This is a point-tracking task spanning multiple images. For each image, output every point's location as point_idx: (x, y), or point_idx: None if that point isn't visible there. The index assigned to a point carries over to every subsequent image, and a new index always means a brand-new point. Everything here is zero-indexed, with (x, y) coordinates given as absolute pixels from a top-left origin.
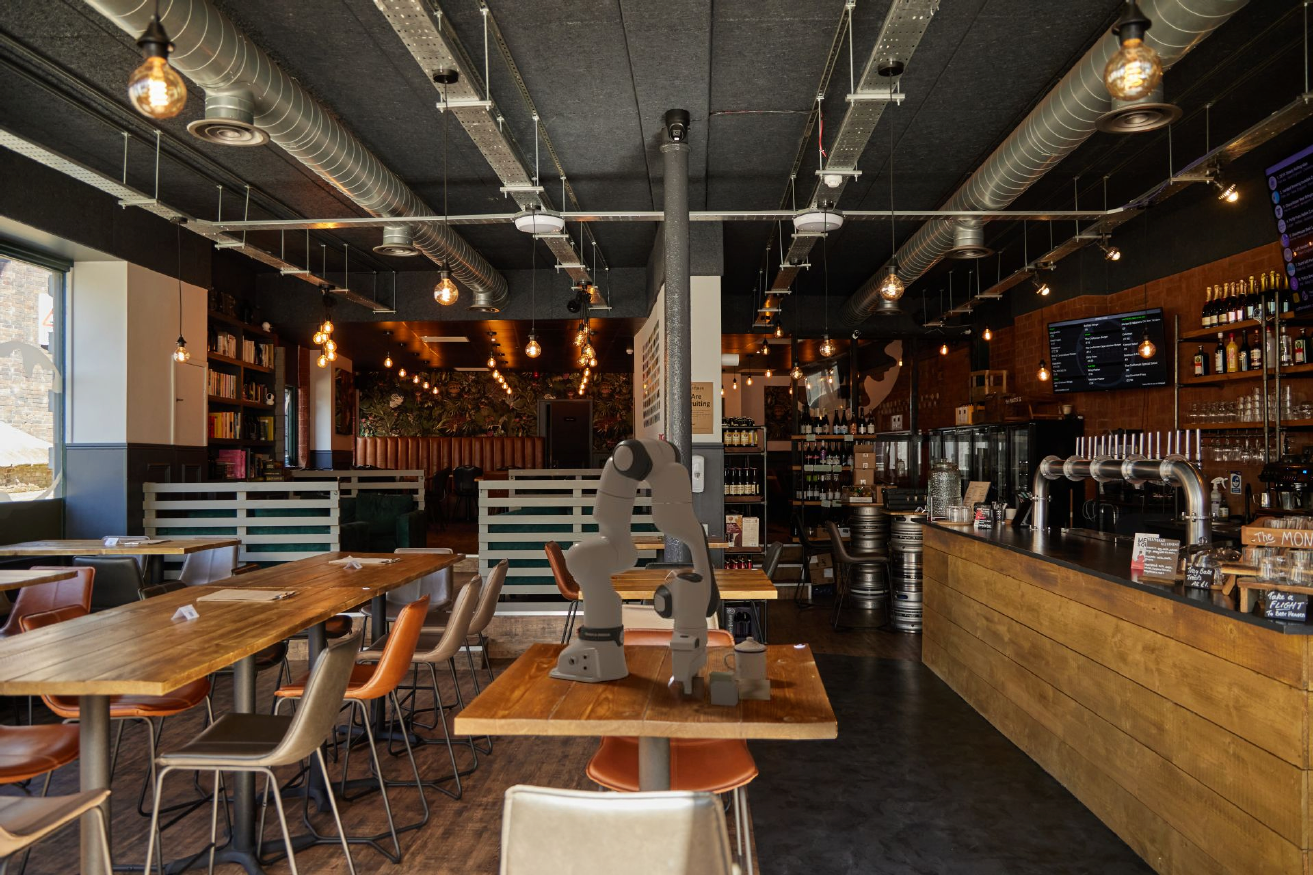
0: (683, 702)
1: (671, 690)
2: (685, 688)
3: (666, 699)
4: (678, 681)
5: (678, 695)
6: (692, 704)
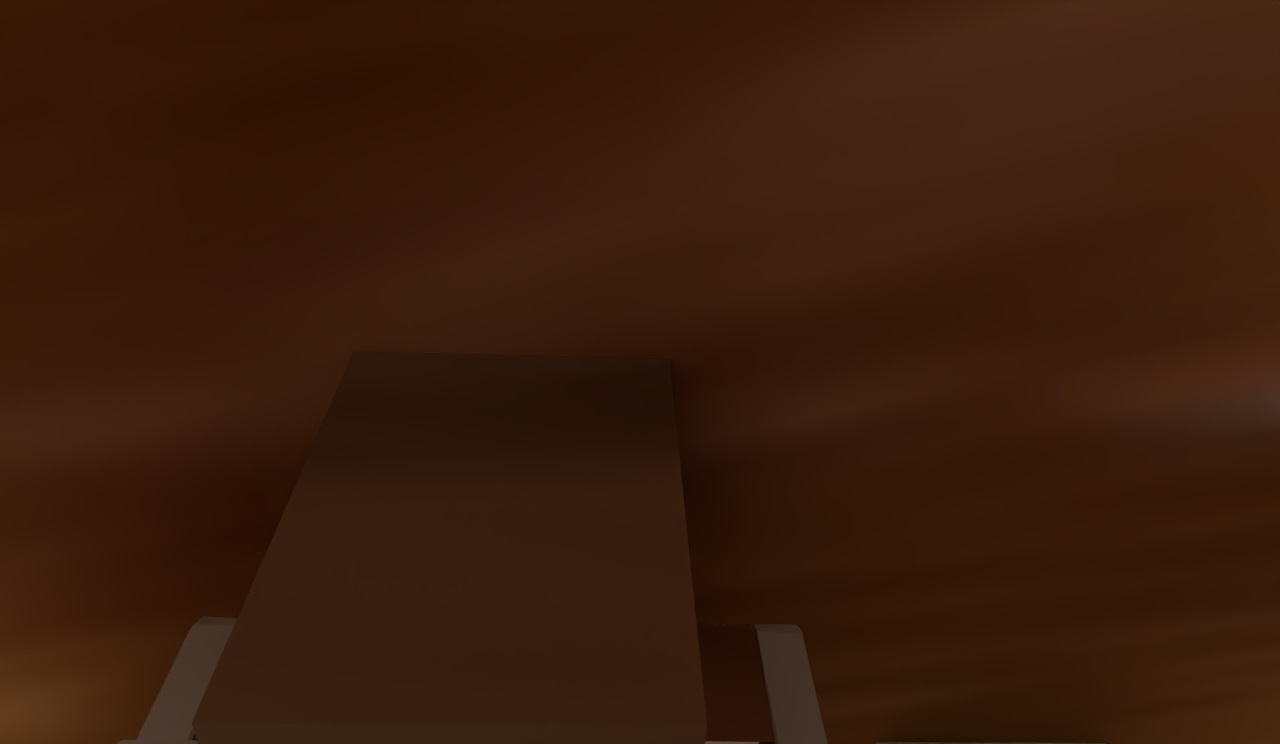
0: (78, 516)
1: (1047, 12)
2: (157, 716)
3: (110, 120)
4: (223, 654)
5: (337, 391)
6: (41, 667)
